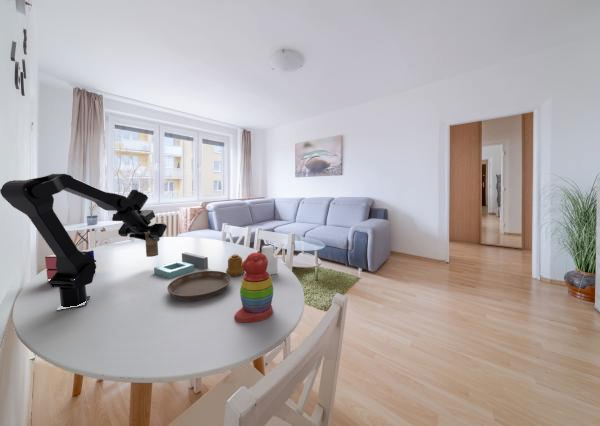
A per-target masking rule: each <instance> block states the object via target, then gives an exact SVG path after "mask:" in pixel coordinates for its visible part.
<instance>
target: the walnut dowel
mask: <svg viewBox="0 0 600 426" xmlns="http://www.w3.org/2000/svg"><path fill="white" fill-rule="evenodd" d="M148 236H149V231H148V233H145V240H144V241H145V253H146V257H147V258H152V257H157V256H159V246H158V245H159V244H158V242H159V241H155V240H153V239H150V238H148Z"/></svg>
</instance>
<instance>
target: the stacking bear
mask: <svg viewBox="0 0 600 426" xmlns="http://www.w3.org/2000/svg"><path fill="white" fill-rule="evenodd" d="M267 265H268V260H267V257H266V256H265V255H264V254H262V253H261V252H260V250H257V252H252V253H250V254H248V255H247V257H246V258H245V260H242V264H241V266H242V269H243V270H244V273H243V276H242V280H241V285H240V288H239V289H240V291H239V293H240V294H239V295H240V301H241V306H242V307H241V308H240V309H239V310H238V311H236V312H235V314H234V321H235V322H238V323H255V322H261V321H264V320H266V319H267V318H270V317H271V315H272V314H273V312H274V309H273V305H272V303H273V298H274V285H273V279H272V277H271V275H269V274H268V272H267V271H266V269H267Z"/></svg>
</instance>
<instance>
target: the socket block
mask: <svg viewBox="0 0 600 426" xmlns="http://www.w3.org/2000/svg"><path fill="white" fill-rule="evenodd" d="M153 271H154V272H153V273H154V275H158V276H161V277H164V278H166V279H169V280H170V279H172V278H173V279H174V278H176V277H180V276H181V275H182V276H183V275H186V274H189V273H190V272H193V271H195V267H194V265H193V264H190V263H186V262H182V260H177V261H173V262H169V263H166V264H162V265H159V266H155V267H153Z"/></svg>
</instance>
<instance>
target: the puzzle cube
mask: <svg viewBox="0 0 600 426" xmlns="http://www.w3.org/2000/svg"><path fill="white" fill-rule="evenodd" d="M78 250H79V251H85V252H90V253H91V254H92V256H93V258H94V259H95V254H94V253H95V252H94V250H93V249H89V250H88V249H78ZM44 259H45V268H46V270H45V271H46V278H47V280H48V279H51V278H52V277H53V276H54V275H55V273H56V272H57V271H58V270H57V268H56V259H57V257H56V255H55V254H54V253H53V254H51V255H47V256H45V257H44ZM74 279H75V278H71V280H74Z"/></svg>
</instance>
